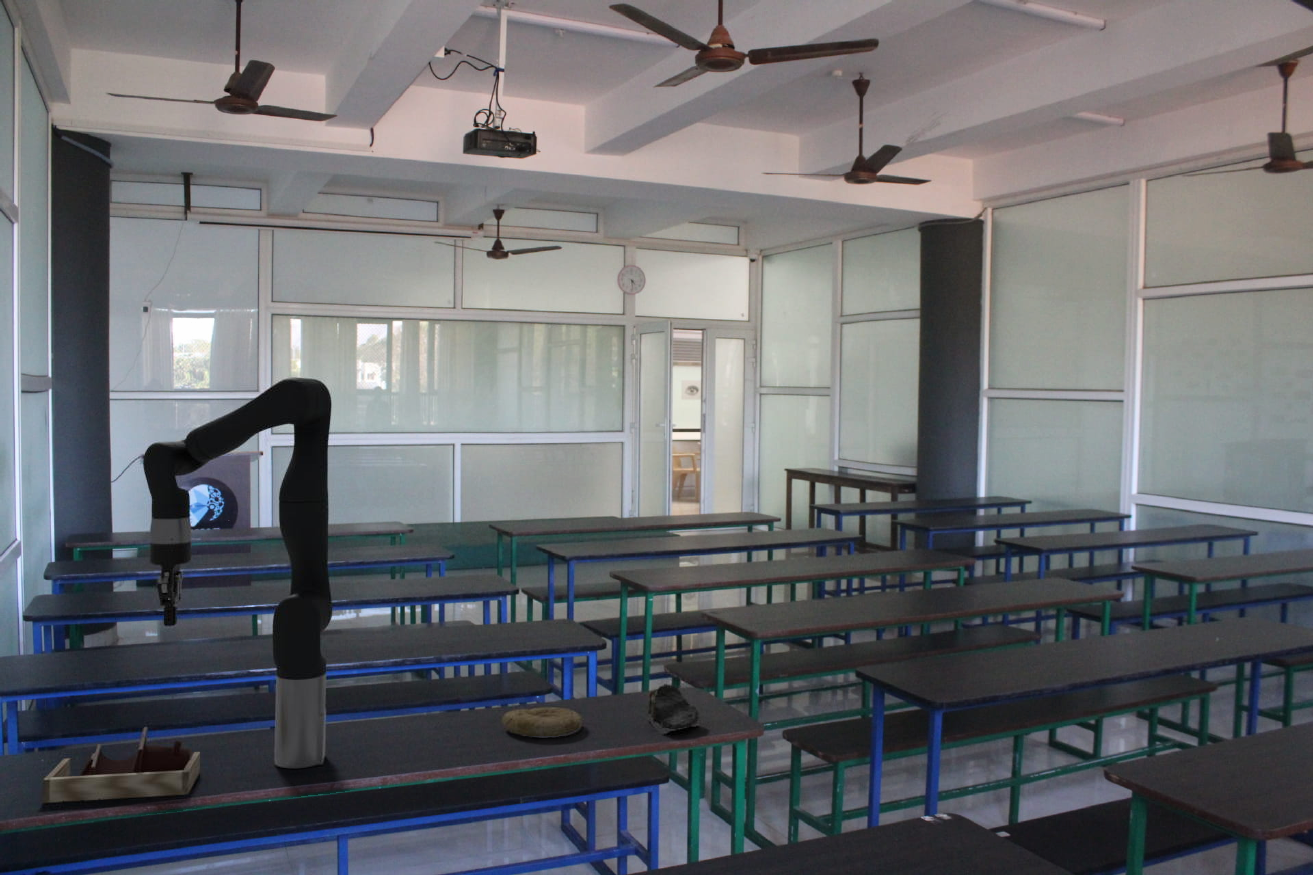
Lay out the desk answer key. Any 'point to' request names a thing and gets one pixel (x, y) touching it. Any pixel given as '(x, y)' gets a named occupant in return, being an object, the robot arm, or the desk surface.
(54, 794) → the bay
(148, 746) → the bracket
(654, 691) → the rock
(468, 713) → the desk surface
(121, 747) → the desk surface
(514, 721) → the brown thick ring
